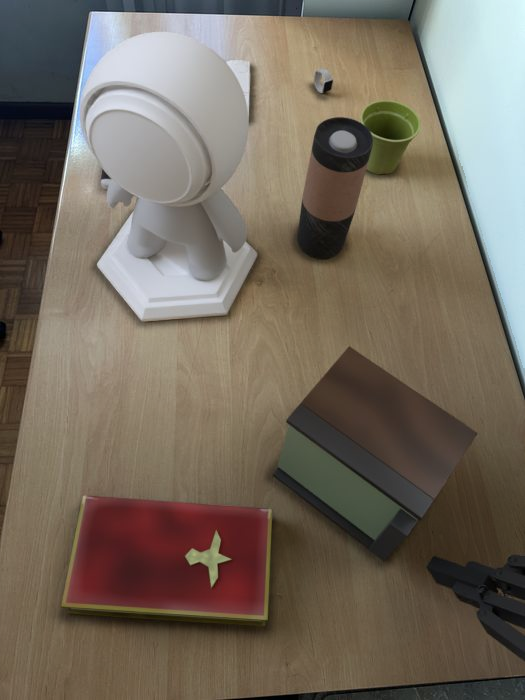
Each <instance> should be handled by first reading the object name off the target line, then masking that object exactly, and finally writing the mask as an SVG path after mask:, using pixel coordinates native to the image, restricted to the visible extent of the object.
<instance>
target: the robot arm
mask: <svg viewBox="0 0 525 700" xmlns="http://www.w3.org/2000/svg"><path fill="white" fill-rule="evenodd" d="M425 568H426V569H427V572H429V574H430V576H431V577H432V578H433V581H434V582H435V584H437V585H440V586H442V587H445V588H448V589H450V590H451V591H452V592H453V594H454V595H455V598H456V599H458V601H459V602H461V603H464V604H466V605H469V606H471V607H474V608H477V610H476V614H475V616H476V618H477V620H478V621H479V623H480V624H481V626H482V628H483V629H484V631H485V632H486V634H487V635H489V636H490V637H491V638H493V639H494V640H495V641H496V642H498V643H499V644H500V645H502V646H503V647H505V648H506V649H507V650H509V651H510V652H511V653H512V654H514V655H516V656H517V658H519V659H520V660H522V661H523V662H525V634H523V632H520V631H519V630H518V629H516V628H515V627H513V626H512V625H514V626H516V627H519V628H521V629H523V630H525V555H524V554H511V555H509V556H508V557H507V558H506V563H505V564H504V565H502V566H501V567H492V566H490V565H486V564H484V563H483V564H482V563H480V562H478V561H473V560H468V561H467V562H466V564H465V565H462V564H459V563H456V562H453V561H450V560H447V559H445V558H441V557H440V556H436V555H432V557H431V559H430V560H429V561H428V562H427V564H426V566H425ZM499 590H500V591H499ZM500 592H501V593H502V594H501V593H500ZM509 596H510V597H509ZM512 597H513V598H512ZM517 599H518V600H517ZM523 601H524V602H523Z"/></svg>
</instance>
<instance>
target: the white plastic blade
mask: <svg viewBox="0 0 525 700" xmlns="http://www.w3.org/2000/svg"><path fill="white" fill-rule="evenodd" d="M225 62H226V63H227V64H228V66H229V67H230V68H231V70H232V71H233V73H234V74H235V76H236V78H237V79H238V81H239V83H240V85H241V88H242V90H243V93H244V96H245V100H246V104H247V109H248V119H249V120H250V94H251V93H250V92H251V90H250V89H251V61H250V60H240V59H230V60H226V61H225Z"/></svg>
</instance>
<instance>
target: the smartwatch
mask: <svg viewBox="0 0 525 700" xmlns="http://www.w3.org/2000/svg"><path fill="white" fill-rule="evenodd" d="M322 78H323V79H324V80H323V82H321V81H322ZM313 84H314V87H315V89H316V90H317V92H318V93H320V94H324V93H328V92H330V91H331V90H332V88H333V84H334V79H333V77H332V75H331V74H330V71H328V69H326V68H319V69H316V71H315V72H314V74H313Z"/></svg>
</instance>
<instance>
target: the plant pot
mask: <svg viewBox="0 0 525 700" xmlns="http://www.w3.org/2000/svg"><path fill="white" fill-rule="evenodd" d="M359 118H360V119H359V120H360V123H362V124H363V125H365V126H366V127H367V128H368V129H369V131H370V132H371V134H372V137H373V146H372V150H371V154H370V157H369V161H368V165H367V169H366V171H368V172H370V173H372V174H375V175H381V174H387V175H388V174H391V173H393V172H394V171H395V170H396V169H397V167H398V165H399V163H400V162H401V159H402V157H403V155H404V153H405V152H406V150H407V148H408V146H409V144H410V143H411V142H412V141H413V140H414V139H415V138H416V137H417V136H418V135H419V133H420V131H421V128H422V122H421V121H422V120H421V118H420V115H418V113H417V112H416V111H415V110H414V109H413V108H412V107H410V106H408V105H407V104H405V103H402V102H400V101H395V100H391V99H389V100H388V99H381V100H376V101H372V102H370V103H369V104H367V105H365V107H363V109H362V110H361V112H360V117H359Z"/></svg>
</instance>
